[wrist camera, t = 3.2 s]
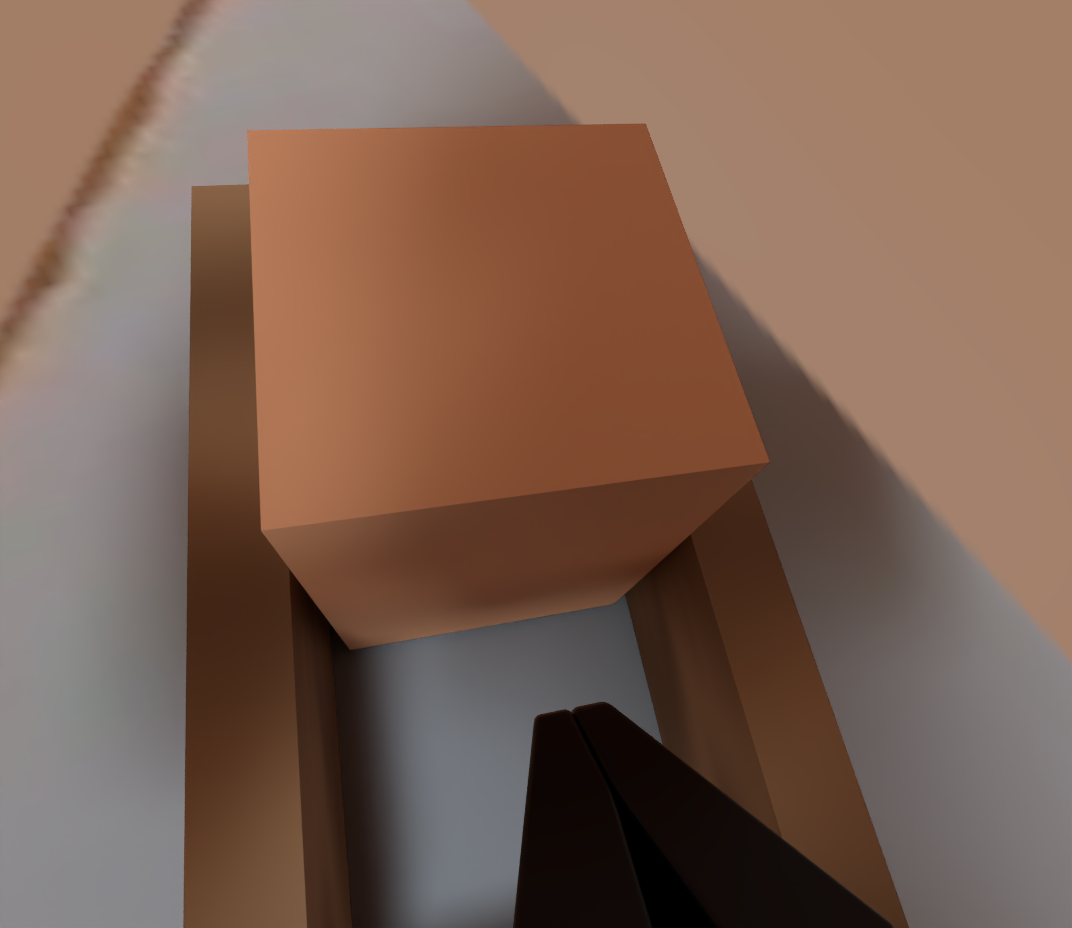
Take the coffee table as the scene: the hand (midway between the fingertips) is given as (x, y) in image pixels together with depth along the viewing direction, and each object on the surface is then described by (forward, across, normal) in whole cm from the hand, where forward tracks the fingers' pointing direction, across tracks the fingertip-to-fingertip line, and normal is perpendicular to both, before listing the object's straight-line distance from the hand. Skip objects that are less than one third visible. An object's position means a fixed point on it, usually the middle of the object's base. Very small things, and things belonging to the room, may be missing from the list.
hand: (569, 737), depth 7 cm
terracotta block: (+9, 0, +1) cm, 9 cm away
